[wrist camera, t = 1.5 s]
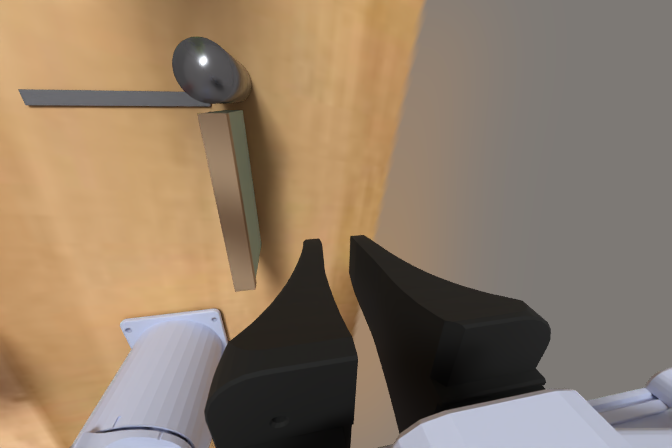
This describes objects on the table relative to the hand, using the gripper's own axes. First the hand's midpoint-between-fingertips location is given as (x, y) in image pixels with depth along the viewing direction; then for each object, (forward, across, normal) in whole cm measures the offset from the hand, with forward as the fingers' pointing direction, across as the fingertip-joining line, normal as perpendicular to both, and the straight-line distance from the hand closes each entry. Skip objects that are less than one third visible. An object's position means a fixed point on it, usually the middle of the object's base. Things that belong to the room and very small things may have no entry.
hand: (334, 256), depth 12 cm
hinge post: (+9, +5, -8) cm, 13 cm away
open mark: (+9, +12, -6) cm, 16 cm away
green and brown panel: (+9, +5, -1) cm, 10 cm away
